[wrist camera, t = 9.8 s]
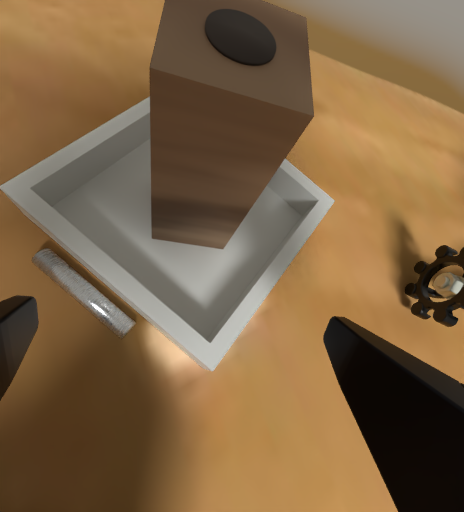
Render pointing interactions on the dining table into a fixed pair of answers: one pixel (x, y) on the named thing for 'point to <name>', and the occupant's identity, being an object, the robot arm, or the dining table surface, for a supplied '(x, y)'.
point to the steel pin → (83, 292)
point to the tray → (159, 251)
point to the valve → (438, 287)
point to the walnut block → (222, 112)
